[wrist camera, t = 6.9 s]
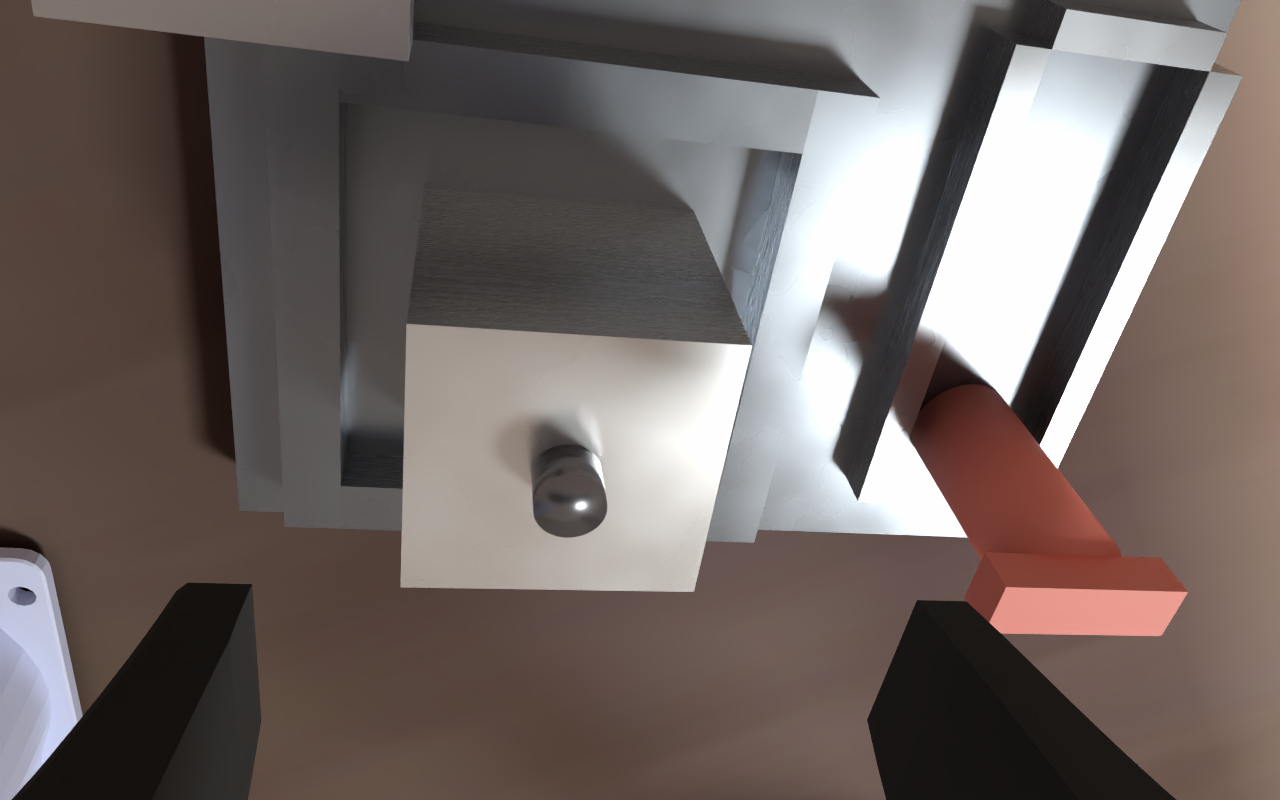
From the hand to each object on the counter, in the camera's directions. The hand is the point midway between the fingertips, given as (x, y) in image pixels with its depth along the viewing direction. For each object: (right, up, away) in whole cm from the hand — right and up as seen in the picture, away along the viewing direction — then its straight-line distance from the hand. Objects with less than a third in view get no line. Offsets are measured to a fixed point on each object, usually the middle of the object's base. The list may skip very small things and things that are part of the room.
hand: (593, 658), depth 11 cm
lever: (+7, +2, +9) cm, 12 cm away
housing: (-1, +4, +7) cm, 8 cm away
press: (+2, +7, +7) cm, 10 cm away
